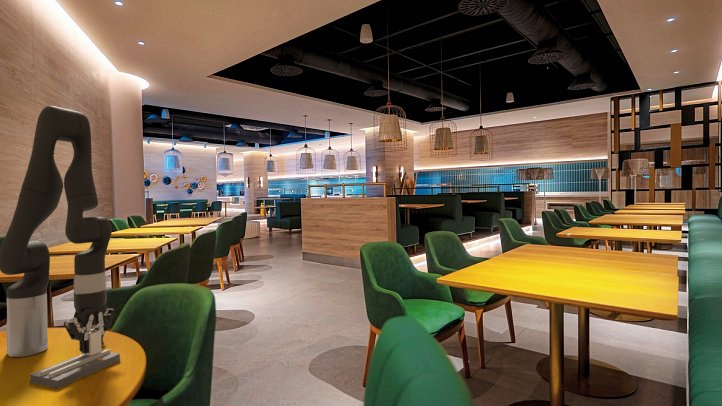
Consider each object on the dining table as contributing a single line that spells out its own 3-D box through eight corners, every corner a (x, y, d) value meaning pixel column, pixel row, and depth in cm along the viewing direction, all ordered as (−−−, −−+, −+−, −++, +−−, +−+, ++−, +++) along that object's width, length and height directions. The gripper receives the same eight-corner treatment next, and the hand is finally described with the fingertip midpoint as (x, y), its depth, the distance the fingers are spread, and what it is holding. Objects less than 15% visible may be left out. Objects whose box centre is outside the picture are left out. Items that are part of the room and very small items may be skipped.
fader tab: (81, 357, 110) (81, 332, 109) (92, 353, 112) (91, 328, 112) (91, 359, 108) (90, 333, 108) (101, 355, 111) (101, 330, 111)
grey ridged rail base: (29, 382, 100) (29, 370, 100) (94, 356, 116) (94, 345, 116) (57, 388, 97) (57, 376, 97) (119, 360, 113) (119, 350, 113)
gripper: (104, 282, 118) (105, 339, 118) (54, 294, 104) (55, 358, 105) (123, 284, 115) (124, 343, 116) (74, 296, 102) (75, 362, 102)
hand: (91, 350), depth 110 cm, fingers closed on fader tab, 3 cm apart
